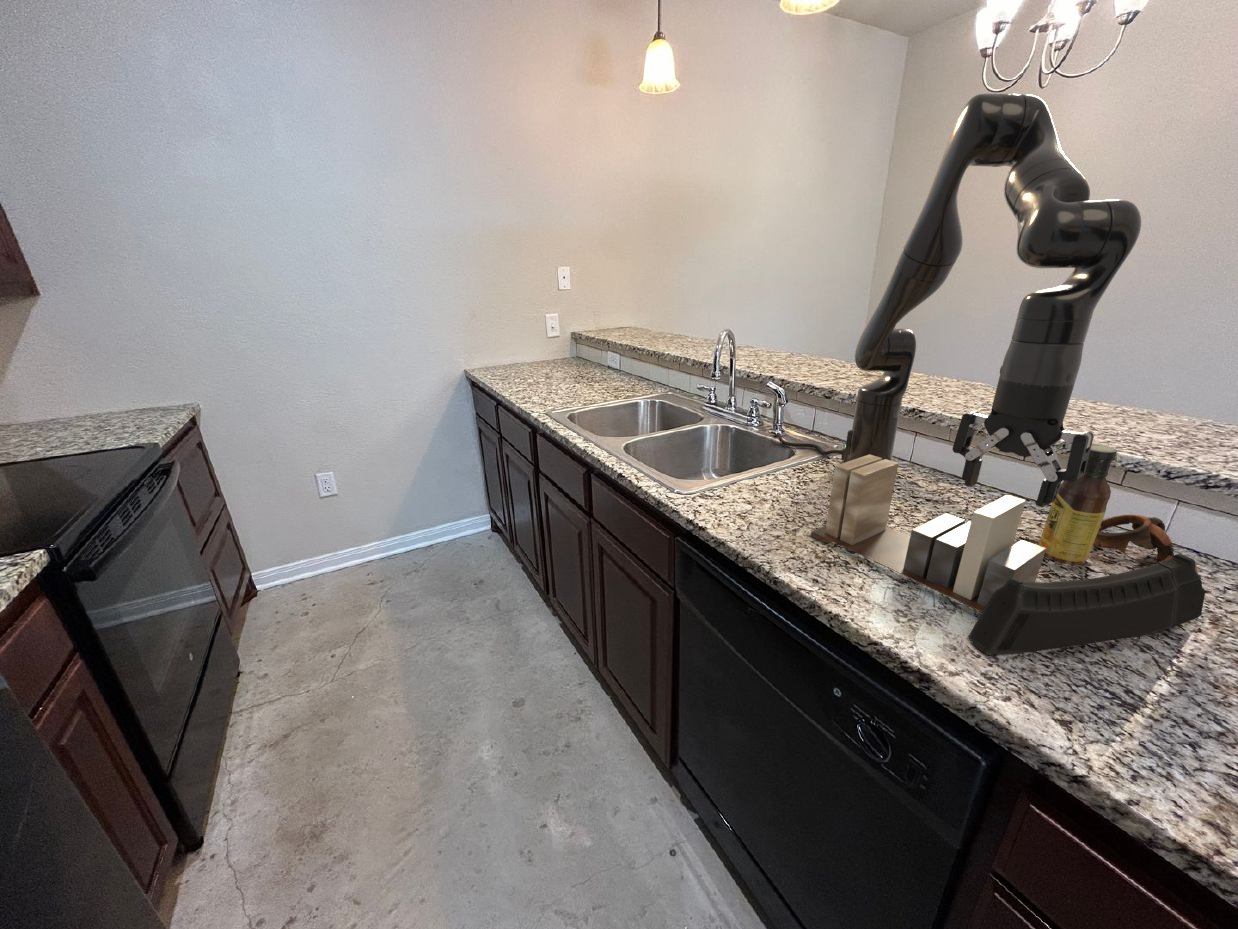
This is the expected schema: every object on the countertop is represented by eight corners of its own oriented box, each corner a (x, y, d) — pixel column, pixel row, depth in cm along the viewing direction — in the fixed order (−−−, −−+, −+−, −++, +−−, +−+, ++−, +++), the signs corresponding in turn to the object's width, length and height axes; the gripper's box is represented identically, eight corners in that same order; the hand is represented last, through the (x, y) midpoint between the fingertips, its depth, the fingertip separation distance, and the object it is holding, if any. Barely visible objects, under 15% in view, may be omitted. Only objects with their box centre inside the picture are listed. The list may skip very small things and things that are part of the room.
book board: (810, 536, 91) (820, 464, 86) (854, 517, 97) (865, 450, 92) (1007, 630, 66) (1036, 537, 61) (1047, 597, 72) (1077, 511, 67)
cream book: (952, 591, 72) (973, 511, 68) (985, 570, 77) (1006, 494, 73) (970, 600, 71) (993, 518, 66) (1002, 577, 76) (1026, 500, 71)
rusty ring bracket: (1168, 585, 75) (1146, 537, 75) (1091, 580, 84) (1071, 537, 84) (1199, 546, 80) (1178, 501, 79) (1123, 545, 89) (1104, 504, 88)
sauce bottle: (1038, 546, 86) (1073, 436, 79) (1086, 560, 82) (1128, 445, 74) (1032, 561, 81) (1068, 446, 74) (1082, 576, 77) (1126, 456, 70)
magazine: (986, 605, 57) (1222, 514, 58) (963, 588, 60) (1188, 503, 61) (989, 708, 63) (1201, 625, 64) (968, 688, 66) (1172, 609, 67)
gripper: (1121, 382, 59) (1079, 506, 65) (987, 367, 71) (961, 473, 76) (1098, 390, 56) (1056, 520, 61) (960, 372, 67) (936, 484, 73)
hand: (1004, 494), depth 69 cm, fingers open, 8 cm apart
